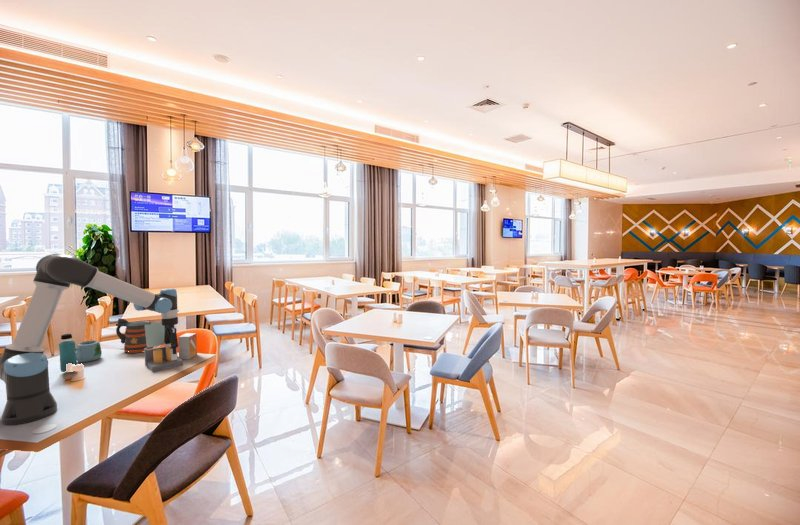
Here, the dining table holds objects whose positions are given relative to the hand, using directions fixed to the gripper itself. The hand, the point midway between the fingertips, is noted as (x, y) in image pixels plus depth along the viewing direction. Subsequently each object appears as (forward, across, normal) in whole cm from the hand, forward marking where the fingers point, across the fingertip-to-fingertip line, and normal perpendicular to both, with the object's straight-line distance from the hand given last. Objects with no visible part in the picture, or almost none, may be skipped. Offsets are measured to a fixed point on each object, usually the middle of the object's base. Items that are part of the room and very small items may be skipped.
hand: (171, 357), depth 196 cm
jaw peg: (+4, +2, 0) cm, 4 cm away
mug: (+3, +40, +32) cm, 52 cm away
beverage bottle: (+4, +24, +40) cm, 47 cm away
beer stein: (+3, +44, +9) cm, 46 cm away
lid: (-12, +10, +3) cm, 16 cm away
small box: (+4, +8, -10) cm, 13 cm away
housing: (+4, +2, +3) cm, 5 cm away
